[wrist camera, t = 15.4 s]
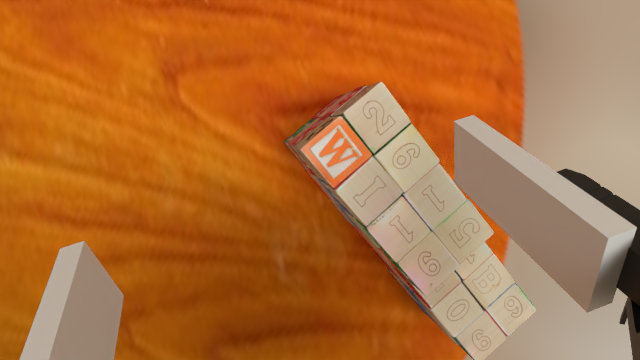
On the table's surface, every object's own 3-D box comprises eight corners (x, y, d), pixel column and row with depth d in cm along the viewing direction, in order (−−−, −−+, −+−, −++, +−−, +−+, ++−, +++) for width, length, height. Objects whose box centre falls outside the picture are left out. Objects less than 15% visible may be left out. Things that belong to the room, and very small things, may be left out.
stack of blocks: (472, 270, 40) (569, 331, 28) (424, 313, 40) (501, 393, 28) (336, 94, 36) (383, 78, 24) (280, 141, 35) (299, 148, 23)
